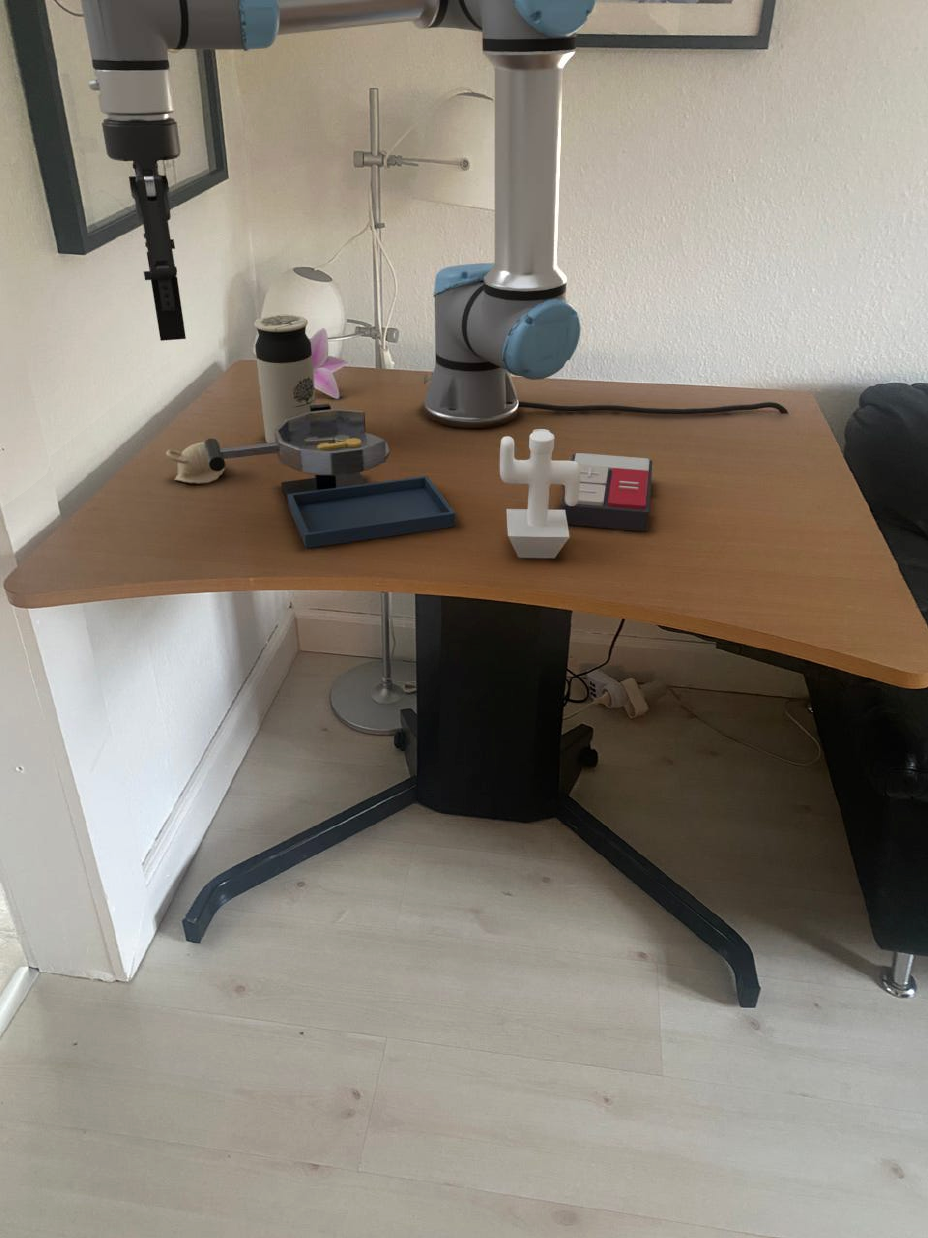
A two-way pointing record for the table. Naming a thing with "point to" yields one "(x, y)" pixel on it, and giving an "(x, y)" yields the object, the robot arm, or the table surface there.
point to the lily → (324, 365)
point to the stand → (321, 480)
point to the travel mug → (284, 369)
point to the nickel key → (327, 439)
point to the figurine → (538, 496)
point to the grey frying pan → (313, 444)
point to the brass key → (340, 444)
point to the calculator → (611, 492)
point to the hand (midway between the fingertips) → (169, 322)
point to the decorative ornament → (194, 465)
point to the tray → (369, 511)
